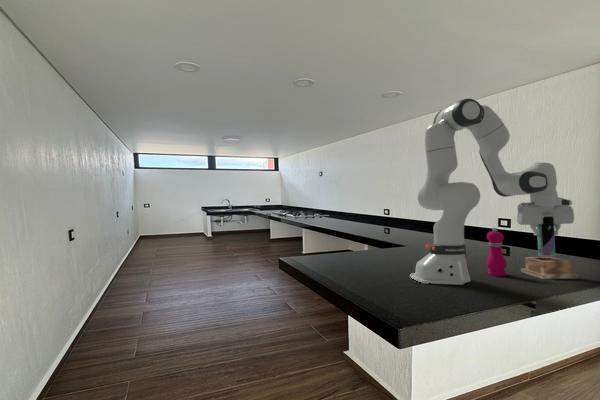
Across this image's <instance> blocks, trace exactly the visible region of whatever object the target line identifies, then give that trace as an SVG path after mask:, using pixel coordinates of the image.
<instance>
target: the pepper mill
mask: <svg viewBox="0 0 600 400" xmlns="http://www.w3.org/2000/svg"><path fill="white" fill-rule="evenodd" d="M504 238H505V237H504V235H503V233H502V232H501V231H498V228H497V227H494V226H493V227H492V231H489V232H487V234H486V240H487V241H488V247H489V255H488V256H487V258H486V266H487V267H488V270H487V272H488V275H490V276H495V277H505V276H506V275H507V271H506V270H505V269H507V266H508V265H507V260H506V259H505V257H504V254H503V250H502V247H503V241H504V240H505V239H504Z"/></svg>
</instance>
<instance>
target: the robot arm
mask: <svg viewBox="0 0 600 400" xmlns="http://www.w3.org/2000/svg"><path fill="white" fill-rule="evenodd" d="M464 129H466V130H469V131H470V133H471V134H472V136H473V138H474V139H475V141H476V142H477V145H478V147H479V149H478V150H479V156H480V159H481V162H482V163H483V165H484V167H485V169H486V171H487V173H488V175H489V178H490V180H491V183H492V184H491V185H492V187H493V188H492V189H493V190H494V192H495V193H496V194H497V195H498V196H501V197H503V198H507V197H512V196H523V195H529V200H530V201H528V202H521V203H520V204H518V205H517V213H516V214H517V215H516V216H517V217H516V218H517V219H516V222H517V224H519V225H522V226H527V225H530V226H529V228H530V229H531V230H532V232H533V236H539V235H540V231H538V230H537V224H543V218H542V216H543V215H542V214H543V213H544V212H550V213H553V218H554V235H555V236H558V234H559V230H560V229H561V227H562V226H561V225H566V224H567V225H568V224H573V223H574V221H575V214H574V208H573V207H572V206H573V205H572V204H573V201H572V200H571V199H566V198H563V197H560V196H559V197H558V191H557V185H558V181H557V180H558V177H557V172H556V168H555V166H554V164H552V163H550V162H535V163H532V164H531V165H530V166H528V168H526V169H523V170H521V171H518V172H512V173H510V172H507V171H506V170H505V168H504V166H503V163H502V161H501V160H500V157H499V153H500V152H501V150H502V149H504V148H505V147H506V145H507V144H508V142H509V140H510V137H511V136H510V135H511V134H510V132H509V130H508V127H507V126H506V124H504V122H503V120H502V119H501V118H500V116H499V115H498V113H496V112H495V111H494V110H493V109H492V107H490V106H488V105H486V104H485V105H481V104H480V102H479V101H477V100H476V99H473V98H463V99H460V100H458V101H457V102H454V103H451V104H449V105H447V106H446V107H444V108H443V109H441V110H440V111H438V113H436V115H435V116H434V118H433V123H432V124H430V125H429V126H428V127H427V128H426V129H425V132H424V133H425V134H424V146H425V147H424V148H425V156H426V158H425V159H426V166H427V172H426V173H427V175H426V178H425V179H426V180H425V181H424V184H423V186H422V187H421V188H420V189H419V191H418V194H417V202H418V204H419V205H420V207H421V208H424V209H426V210H431V211H442V215H441V217H440V219H439V220H437V221H436V222H435V223H434V224H433V226H432V227H433V228H432V229H433V243H432V244H426V245H425V248H426V250H429V253H427V254H426V255H425V256H424V257H422V258H420V259H419V260H418V261H417V262H416V265H415V272H412V273H410V274H409V278H410V277H411V278H412V279H414V280H416V281H418V282H417V283H419V282H421V283H420V284H429V283H431V284H432V285H434V284H435V285H460V286H462V285H465V283H469V282H471V277H470V275H469V274H470V273H469V271H468V270H469V269H468V267H467V266H468V265H467V260H466V258H467V248H466V244H465V224H466V220H467V217H468V215H469V214H470V212H471V211H472V210H473V209H475V208H476V207H477V205H478V204H479V202H480V200H481V192H480V190H479V187H478V186H477V185H476V184H475V183H471V182H464V181H457V182H455V181H454V182H449V181H450V176H451V174H452V173H454V171H456V169H457V168H458V158H457V150H456V142H455V134H456V132H458V131H461V130H464ZM411 278H410V279H411ZM412 279H411V280H412ZM414 280H413V281H414ZM416 281H415V282H416Z"/></svg>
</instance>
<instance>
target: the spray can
mask: <svg viewBox="0 0 600 400" xmlns="http://www.w3.org/2000/svg"><path fill="white" fill-rule="evenodd" d="M542 215H543V216H542V218H543V224H537V227H536V229H537V230H538V231H540V235H539V236H537V254H538V257H554V258H557V257H556V256H557V255H556V237H555V236H556V235H554V227H555V226H554V218H553V213H550V212H544V213H543V214H542Z"/></svg>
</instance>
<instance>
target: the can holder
mask: <svg viewBox="0 0 600 400" xmlns="http://www.w3.org/2000/svg"><path fill="white" fill-rule="evenodd" d="M524 260H525V261H524V263H525V267H523V268H520V272H521V273H524V274H527V275H528V276H529V275H530V276H533V277H536V278H540V279H543V280H557V279H558V280H560V279H563V280H564V279H565V280H566V279H570V280H572V279H579V277H580V276H579V274H577V273H574V272H573V265H572V260H567V259H563V258H559V257H542V256H530V257H529V256H527V257H524Z"/></svg>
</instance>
